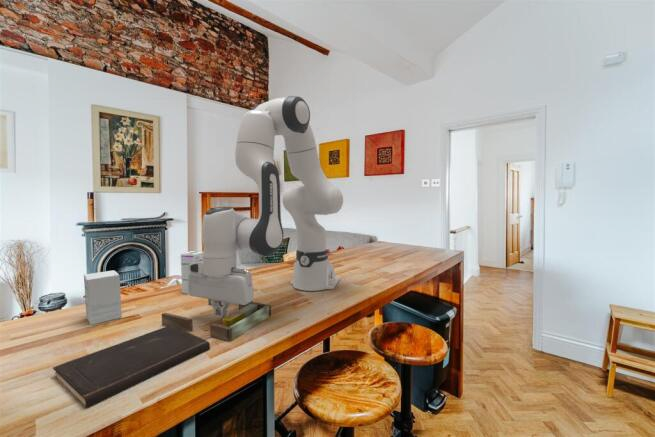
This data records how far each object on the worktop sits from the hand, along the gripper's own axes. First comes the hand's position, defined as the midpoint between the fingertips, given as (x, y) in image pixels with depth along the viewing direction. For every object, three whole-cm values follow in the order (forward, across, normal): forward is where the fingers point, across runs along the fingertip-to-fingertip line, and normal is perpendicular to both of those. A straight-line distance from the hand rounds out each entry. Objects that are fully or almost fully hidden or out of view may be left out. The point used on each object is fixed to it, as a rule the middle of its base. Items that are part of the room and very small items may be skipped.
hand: (220, 315), depth 83 cm
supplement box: (+2, +32, +11) cm, 34 cm away
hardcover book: (+2, +2, +23) cm, 23 cm away
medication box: (+2, -7, -1) cm, 7 cm away
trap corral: (+2, +1, -3) cm, 3 cm away
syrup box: (+2, +27, -17) cm, 32 cm away
